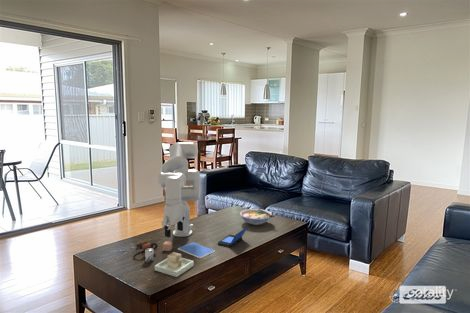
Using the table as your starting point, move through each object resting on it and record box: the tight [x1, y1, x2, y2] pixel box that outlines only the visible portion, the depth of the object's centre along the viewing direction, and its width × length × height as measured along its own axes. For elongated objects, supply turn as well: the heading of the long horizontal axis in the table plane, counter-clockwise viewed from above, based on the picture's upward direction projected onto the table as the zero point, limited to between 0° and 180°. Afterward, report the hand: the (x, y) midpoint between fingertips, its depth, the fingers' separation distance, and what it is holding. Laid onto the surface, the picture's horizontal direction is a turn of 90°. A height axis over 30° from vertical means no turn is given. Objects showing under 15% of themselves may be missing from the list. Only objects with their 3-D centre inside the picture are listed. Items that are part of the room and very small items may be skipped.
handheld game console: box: [217, 226, 248, 248], centre depth 203 cm, size 16×13×9 cm
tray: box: [154, 257, 195, 278], centre depth 170 cm, size 14×14×2 cm
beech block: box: [166, 251, 182, 269], centre depth 170 cm, size 5×5×6 cm
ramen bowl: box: [239, 207, 275, 226], centre depth 238 cm, size 25×23×8 cm
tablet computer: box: [177, 241, 216, 259], centre depth 192 cm, size 19×13×1 cm, turn 49°
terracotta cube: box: [162, 241, 173, 252], centre depth 193 cm, size 4×4×4 cm
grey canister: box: [144, 247, 155, 263], centre depth 178 cm, size 4×4×6 cm
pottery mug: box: [135, 240, 159, 258], centre depth 187 cm, size 12×10×8 cm
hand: (174, 233), depth 168 cm, fingers open, 9 cm apart
